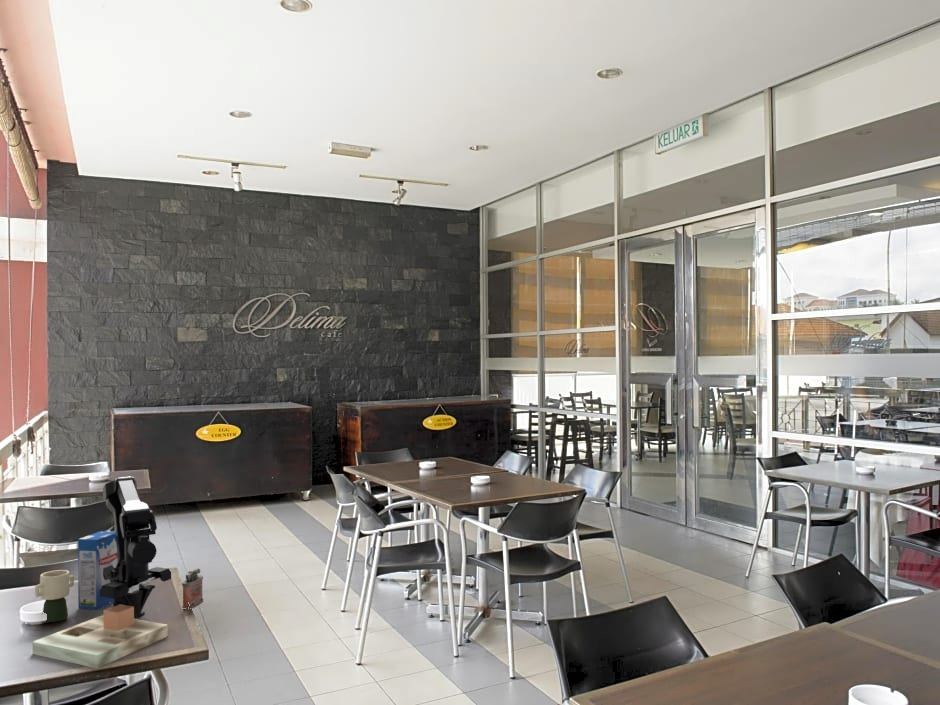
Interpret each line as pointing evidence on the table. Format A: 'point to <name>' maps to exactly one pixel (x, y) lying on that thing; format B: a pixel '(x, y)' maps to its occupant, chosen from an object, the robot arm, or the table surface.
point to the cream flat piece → (98, 642)
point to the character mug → (54, 593)
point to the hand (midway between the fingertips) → (137, 614)
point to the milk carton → (95, 567)
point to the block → (118, 617)
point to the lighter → (192, 589)
